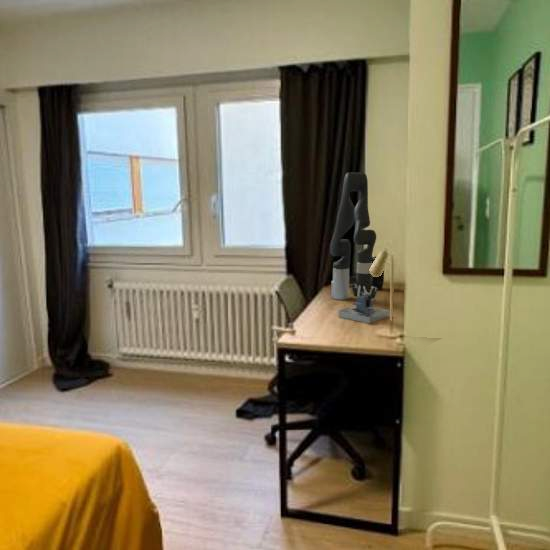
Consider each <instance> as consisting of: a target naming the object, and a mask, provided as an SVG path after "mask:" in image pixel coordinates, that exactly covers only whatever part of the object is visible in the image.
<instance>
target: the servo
mask: <svg viewBox="0 0 550 550" xmlns="http://www.w3.org/2000/svg"><path fill="white" fill-rule="evenodd" d="M355 297H356V296H355ZM355 300H356V301H355V302H352V305H353V306H355V305H356V309H361V310H365V309H368V308H371V307H374V304H373V303H374V302H375V301H376V299H375V298H373V299H371V305H370V307H366V300H367V299H366V295H365V293H363V294H362V295H360V296H357V297H356V299H355Z"/></svg>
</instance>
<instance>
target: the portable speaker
mask: <svg viewBox="0 0 550 550" xmlns="http://www.w3.org/2000/svg"><path fill="white" fill-rule="evenodd" d="M375 258H376V256H372V263H373V261H374V260H375ZM384 281H385V270H384V271H383V273H382V275H381V276H379V277H373V276H372V285H373V286H374V287H377V290H383V287H384Z"/></svg>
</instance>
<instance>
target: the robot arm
mask: <svg viewBox="0 0 550 550" xmlns="http://www.w3.org/2000/svg"><path fill="white" fill-rule="evenodd" d="M367 176H368V175H367V174H366V173H364V172H355V171H354V172H352V171H351V172H346V173H345V176H344V179H343V185H342V193H341V199H340V204H339V208H338V211H337V216H336V222H335V227H334V231H333V234H332V238H331V241H330V243H329V244H330V245H329V253H330V255H331V256H333V257H341V258H340V259H338V260H337V261H334V262H333V264H332V280H331V285H330V288H331V296H330V297H331V298H333V299H334V300H340V301H341V300H348V299H350V283H349V277H350V266H351V265H350V264H351V252H352V246H351V245H352V244H351V241H350V239H346V238H345V239H343V236H344V235H345V234H346V233H347V232H348V231H349V230H350V229H352V226H354V225H355V226H354V234H353V242H354V243H355V245H357V246H366V245H367V246H366V247H365V248H364V249H363V248H362V249H358V251H357V255H356V257H357V258H356V261H357V262H356V277H355V278H356V280H357V282H356V284H351V289H352V292H353V297H357V296H360V295H363V294H365V295H366V299H367V300H366V307H370V305H371V299H375V297H376V295H377V291H378V289H377V287H374V286H373V285H372V275H371V274H370V271H369V269H370V267H371V265H372V257H373V251H374V248H375V246H376V245H375V244H376V241H377V233H376V232H375V230H373V229H366V228H368V227H369V226H370V225H371V220H370V219H371V218H370V214H369V213H370V212H369V199H368V198H369V190H368V189H369V184H368V177H367ZM351 192H360V197H359V200H358V201H357V203H356V205H354V203H353V201H352V199H351V197H350V193H351Z"/></svg>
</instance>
